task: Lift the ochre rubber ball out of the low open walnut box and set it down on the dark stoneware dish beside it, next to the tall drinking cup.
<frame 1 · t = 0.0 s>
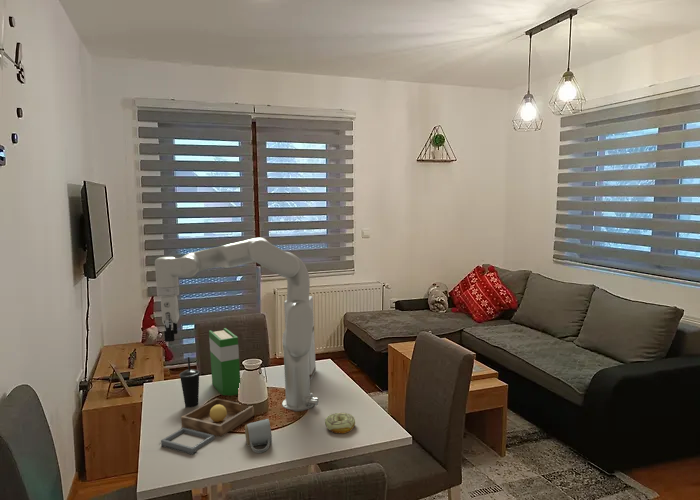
hand: (171, 337, 185), 31 cm above the table, tool pointing down, fingers open, 9 cm apart
ceramic mug: (260, 446, 168), on the table
drinking cup: (191, 407, 200), on the table
hardback book: (226, 389, 218), on the table
ball: (218, 421, 185), point 1 cm above the table, touching walnut box
decorated donut: (340, 428, 179), on the table
dish: (188, 443, 170), on the table
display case: (302, 374, 232), on the table
walnut box: (218, 423, 185), on the table
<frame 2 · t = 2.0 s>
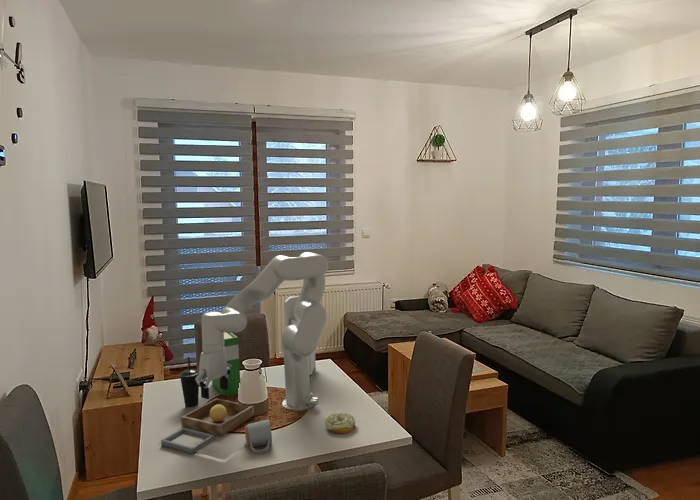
hand: (214, 393, 183), 11 cm above the table, tool pointing down, fingers open, 9 cm apart
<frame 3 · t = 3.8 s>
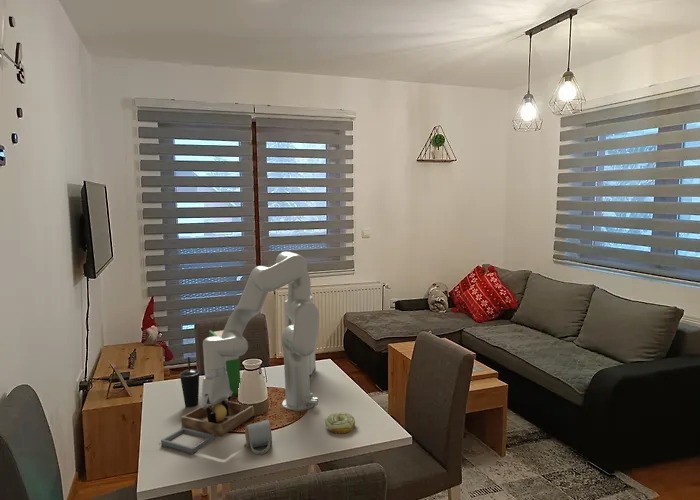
hand: (218, 418, 185), 2 cm above the table, tool pointing down, fingers closed on ball, 6 cm apart
ball: (218, 421, 185), point 1 cm above the table, touching gripper, walnut box
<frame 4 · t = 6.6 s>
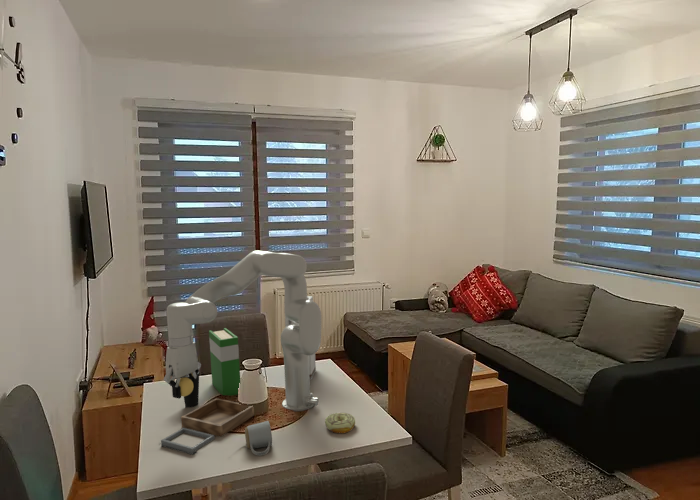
hand: (184, 393, 168), 17 cm above the table, tool pointing down, fingers closed on ball, 5 cm apart
ball: (184, 395, 169), point 17 cm above the table, touching gripper
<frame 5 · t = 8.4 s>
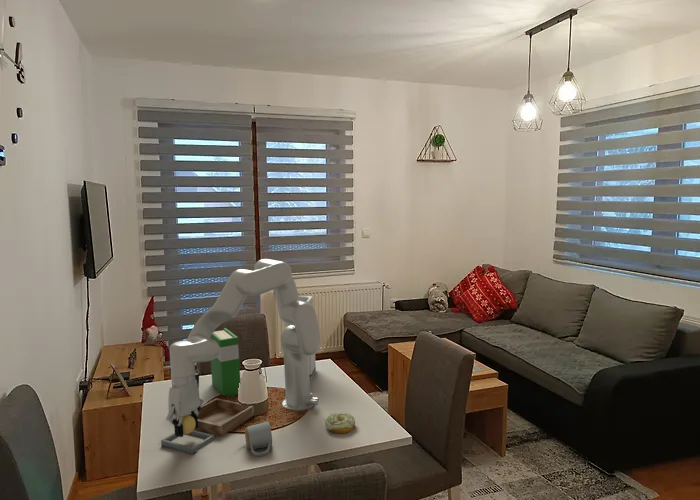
hand: (186, 431, 170), 4 cm above the table, tool pointing down, fingers closed on ball, 5 cm apart
ball: (186, 433, 170), point 4 cm above the table, touching gripper
when the fingers open (3 cm above the table, at t = 9.7 s): ball drops 1 cm, resting on dish.
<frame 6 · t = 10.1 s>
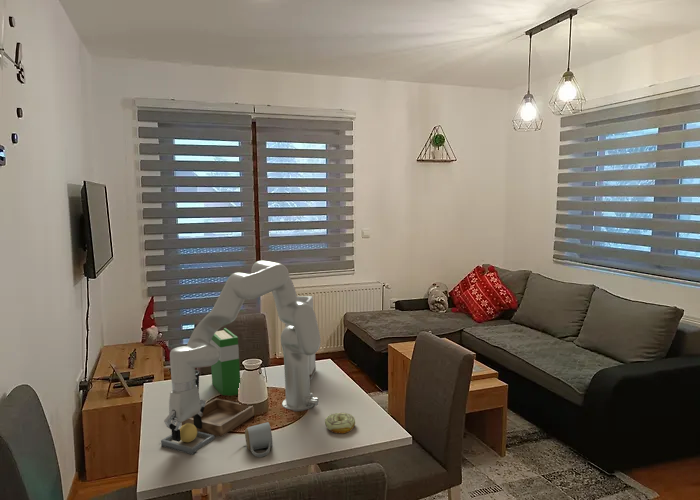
hand: (187, 434, 170), 3 cm above the table, tool pointing down, fingers open, 9 cm apart
ball: (188, 441, 170), point 1 cm above the table, touching dish
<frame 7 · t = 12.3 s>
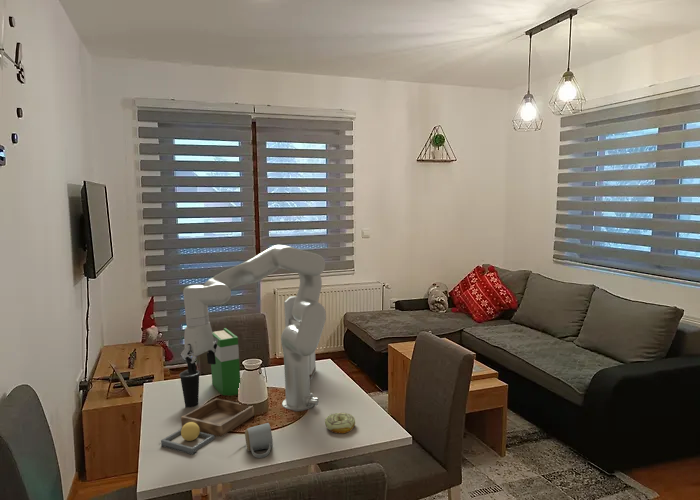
hand: (202, 368, 178), 22 cm above the table, tool pointing down, fingers open, 9 cm apart
ball: (188, 440, 170), point 1 cm above the table, tilted 26°, touching dish
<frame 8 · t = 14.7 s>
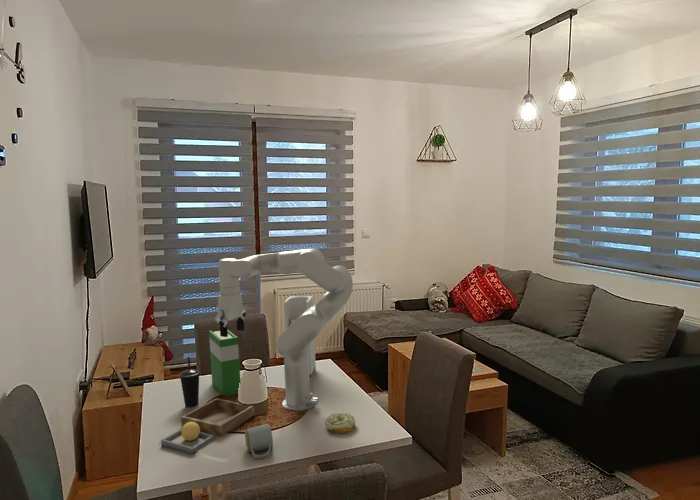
hand: (232, 333, 199), 28 cm above the table, tool pointing down, fingers open, 9 cm apart
at the end: ball inside the target area on the dish (0.1 cm from its centre), point 1.0 cm above the dish's base; the gripper is holding nothing; ball touching dish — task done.
